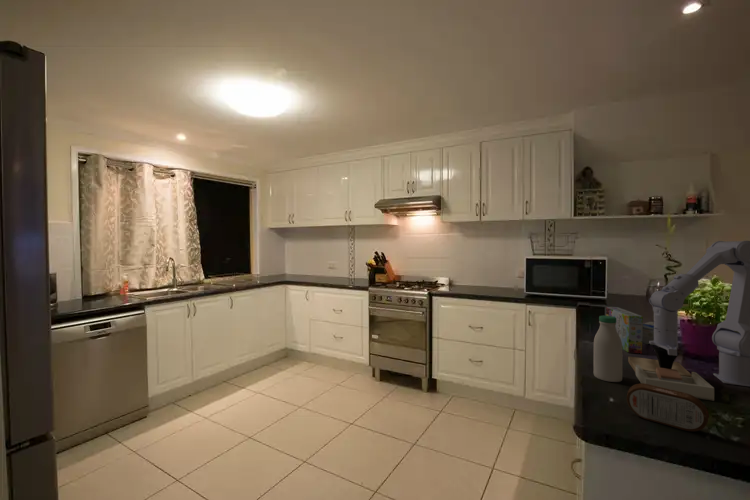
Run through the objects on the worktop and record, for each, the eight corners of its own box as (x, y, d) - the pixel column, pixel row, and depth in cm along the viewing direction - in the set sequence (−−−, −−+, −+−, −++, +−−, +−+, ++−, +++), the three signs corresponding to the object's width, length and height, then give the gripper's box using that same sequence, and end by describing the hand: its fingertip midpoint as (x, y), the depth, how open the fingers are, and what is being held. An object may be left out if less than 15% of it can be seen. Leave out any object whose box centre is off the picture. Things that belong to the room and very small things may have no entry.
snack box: (644, 354, 132) (644, 316, 131) (627, 353, 133) (627, 315, 133) (618, 339, 152) (618, 306, 152) (604, 338, 154) (604, 306, 153)
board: (677, 367, 117) (677, 362, 117) (693, 382, 104) (693, 376, 104) (628, 361, 123) (628, 356, 123) (637, 375, 111) (637, 369, 111)
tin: (708, 433, 77) (708, 396, 77) (709, 438, 75) (709, 401, 74) (627, 410, 87) (627, 378, 87) (625, 415, 85) (625, 382, 85)
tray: (695, 383, 104) (695, 372, 104) (714, 400, 92) (714, 388, 92) (635, 375, 111) (635, 364, 111) (645, 390, 99) (645, 378, 99)
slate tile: (681, 387, 100) (681, 380, 100) (688, 393, 96) (688, 386, 96) (660, 383, 103) (660, 377, 103) (665, 390, 98) (665, 383, 98)
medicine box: (650, 340, 150) (650, 321, 150) (662, 343, 146) (662, 323, 146) (641, 343, 146) (641, 323, 146) (654, 345, 142) (654, 325, 142)
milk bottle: (627, 383, 104) (627, 319, 104) (599, 381, 106) (599, 318, 105) (615, 374, 112) (615, 314, 111) (589, 372, 113) (589, 313, 113)
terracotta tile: (676, 375, 105) (676, 369, 104) (681, 384, 100) (682, 378, 100) (655, 372, 107) (656, 367, 107) (660, 381, 103) (660, 375, 102)
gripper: (643, 322, 115) (643, 362, 115) (655, 332, 102) (655, 377, 102) (670, 325, 111) (670, 365, 112) (686, 335, 98) (686, 381, 99)
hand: (665, 371), depth 107 cm, fingers closed
